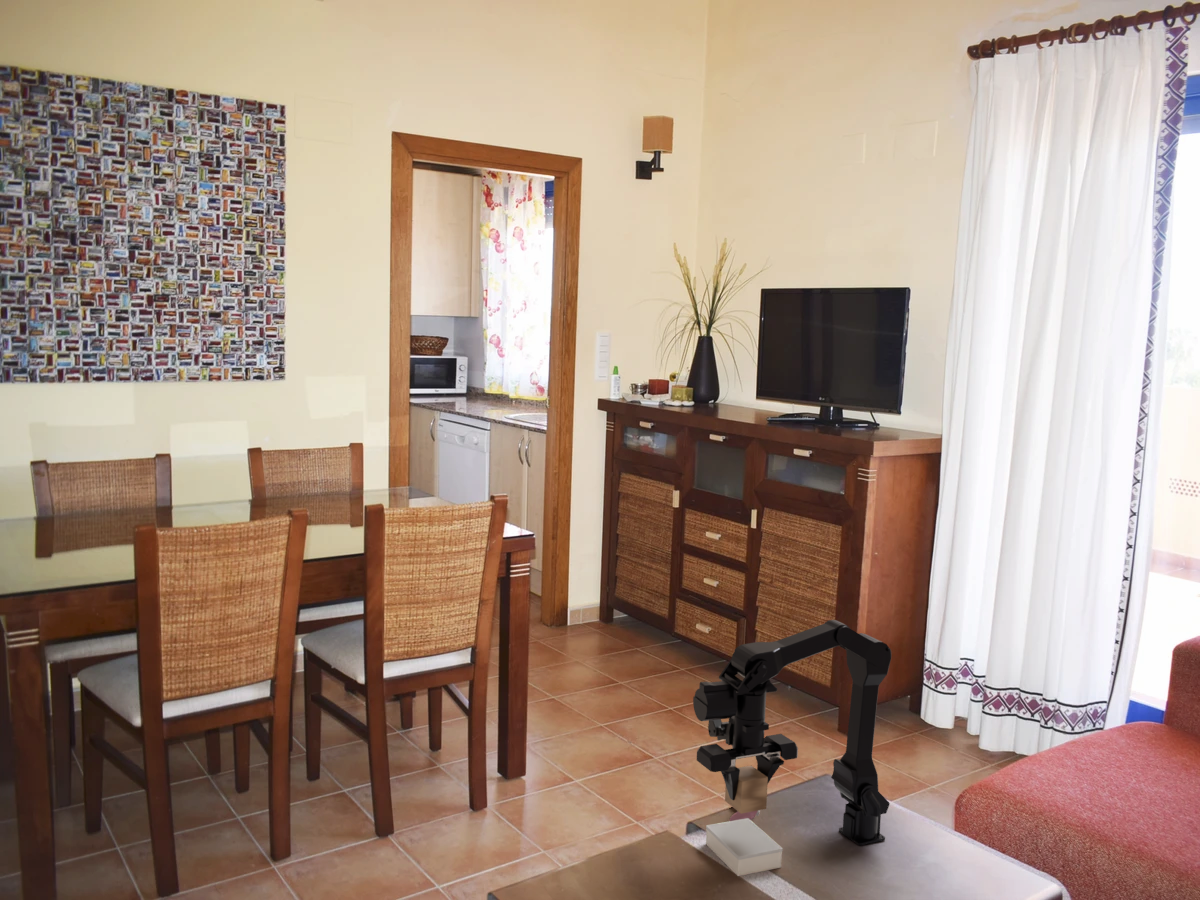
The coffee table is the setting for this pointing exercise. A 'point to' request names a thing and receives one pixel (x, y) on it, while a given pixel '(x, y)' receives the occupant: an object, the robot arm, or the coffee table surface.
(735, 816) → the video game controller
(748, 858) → the white rectangular box
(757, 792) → the walnut block
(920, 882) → the coffee table surface
